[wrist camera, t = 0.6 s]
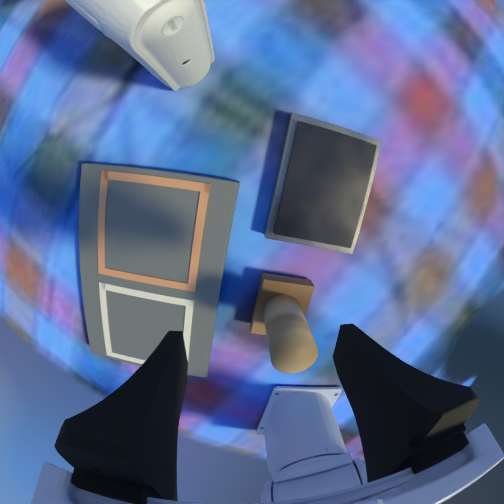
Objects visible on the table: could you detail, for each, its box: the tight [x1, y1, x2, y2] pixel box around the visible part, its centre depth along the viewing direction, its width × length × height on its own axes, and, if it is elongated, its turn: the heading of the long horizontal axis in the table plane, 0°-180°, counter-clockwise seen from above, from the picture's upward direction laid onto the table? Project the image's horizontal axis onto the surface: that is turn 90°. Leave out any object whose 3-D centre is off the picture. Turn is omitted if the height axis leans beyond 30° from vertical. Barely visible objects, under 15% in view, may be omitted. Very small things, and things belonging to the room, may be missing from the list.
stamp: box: [250, 273, 318, 373], centre depth 20 cm, size 5×4×7 cm
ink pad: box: [264, 113, 381, 254], centre depth 19 cm, size 9×7×1 cm
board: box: [79, 163, 239, 378], centre depth 21 cm, size 18×12×1 cm, turn 169°
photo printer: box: [65, 0, 214, 91], centre depth 9 cm, size 10×4×12 cm, turn 40°
